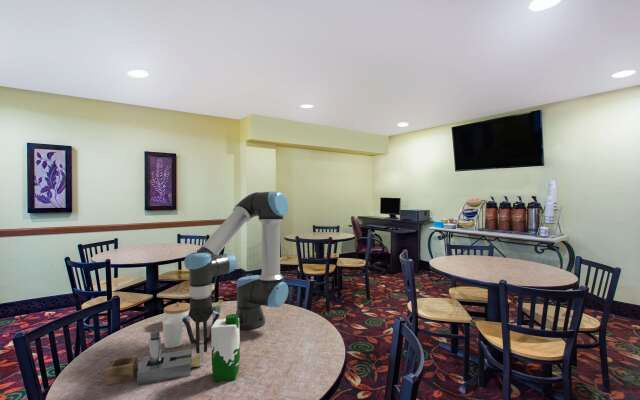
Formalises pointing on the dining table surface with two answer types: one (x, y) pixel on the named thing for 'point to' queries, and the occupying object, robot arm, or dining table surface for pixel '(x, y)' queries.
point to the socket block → (165, 367)
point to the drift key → (194, 360)
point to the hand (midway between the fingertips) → (201, 361)
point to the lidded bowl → (176, 310)
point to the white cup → (173, 332)
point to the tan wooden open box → (121, 370)
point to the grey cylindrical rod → (155, 348)
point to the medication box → (219, 306)
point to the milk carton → (225, 348)
